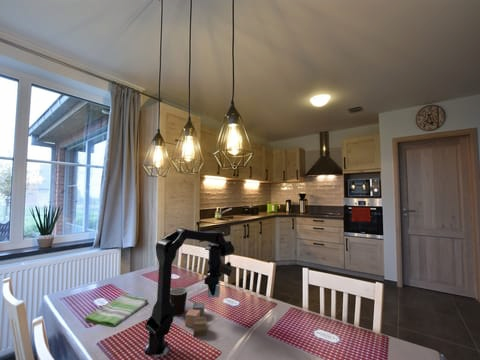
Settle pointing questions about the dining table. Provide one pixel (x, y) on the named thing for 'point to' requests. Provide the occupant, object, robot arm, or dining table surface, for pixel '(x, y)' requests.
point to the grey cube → (217, 291)
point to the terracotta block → (191, 317)
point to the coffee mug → (178, 299)
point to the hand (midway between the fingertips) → (214, 292)
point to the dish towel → (117, 310)
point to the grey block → (199, 307)
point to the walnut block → (199, 326)
